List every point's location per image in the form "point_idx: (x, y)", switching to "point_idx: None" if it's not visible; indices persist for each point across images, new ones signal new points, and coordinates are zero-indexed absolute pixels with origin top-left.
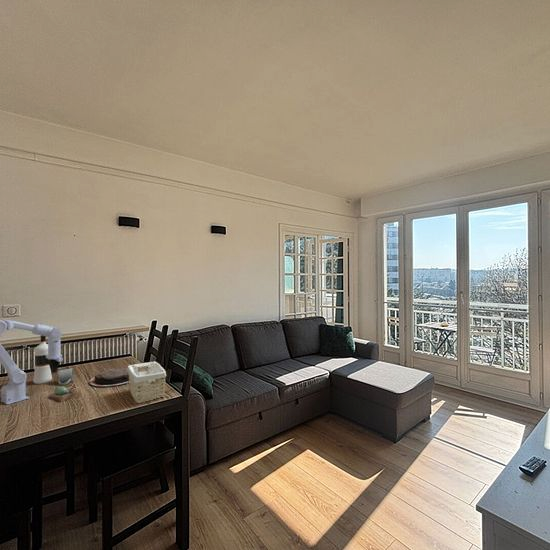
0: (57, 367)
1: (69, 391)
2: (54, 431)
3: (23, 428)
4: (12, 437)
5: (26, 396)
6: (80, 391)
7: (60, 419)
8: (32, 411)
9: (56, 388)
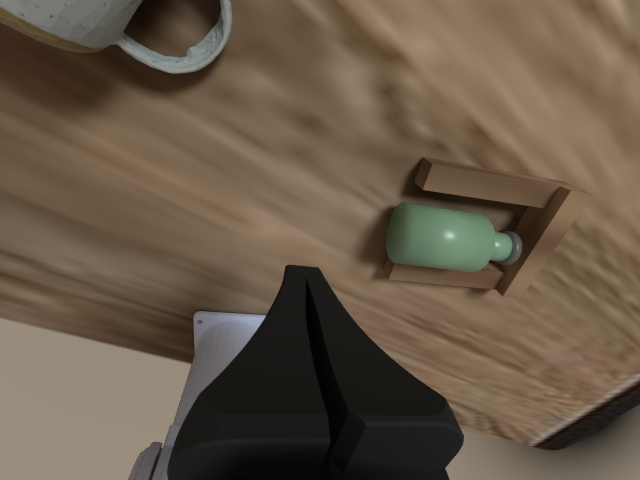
0: (343, 313)
1: (472, 196)
2: (629, 394)
3: (522, 415)
4: (531, 435)
5: (256, 319)
6: (588, 195)
7: (607, 359)
8: (448, 366)
9: (411, 263)
